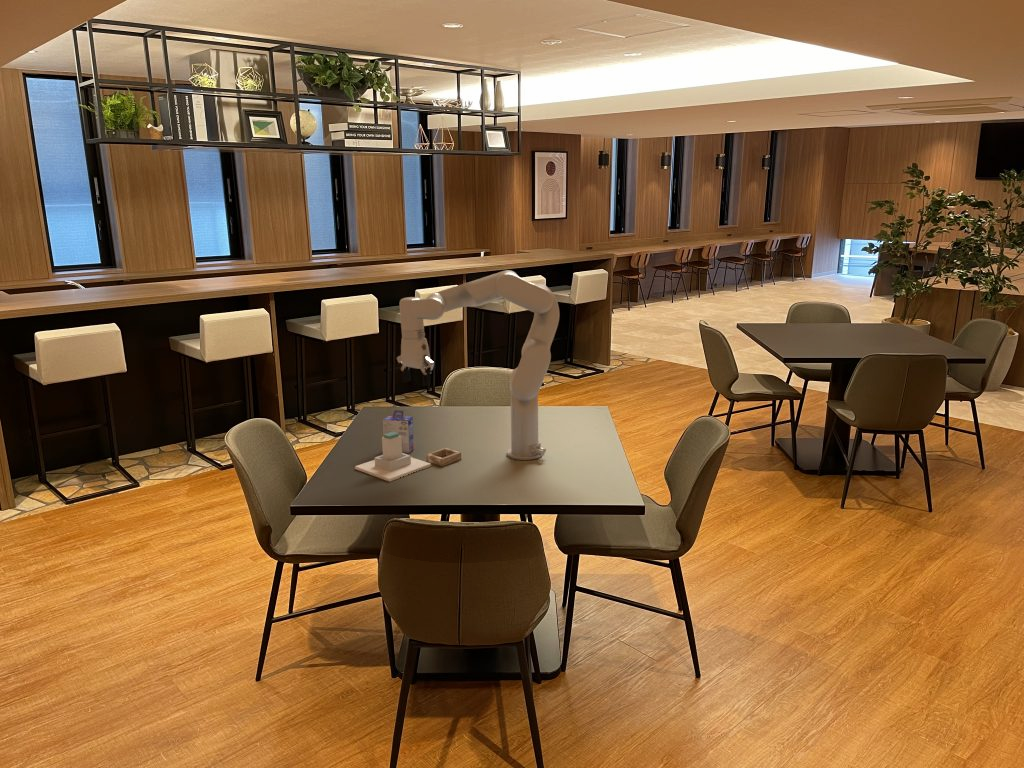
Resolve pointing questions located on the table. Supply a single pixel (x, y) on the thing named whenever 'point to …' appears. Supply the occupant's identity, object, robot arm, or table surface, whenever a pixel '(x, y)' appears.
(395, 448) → the plug
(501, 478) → the table surface
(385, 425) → the ink cartridge box
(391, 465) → the port board
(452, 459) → the brown rectangular frame
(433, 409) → the table surface
